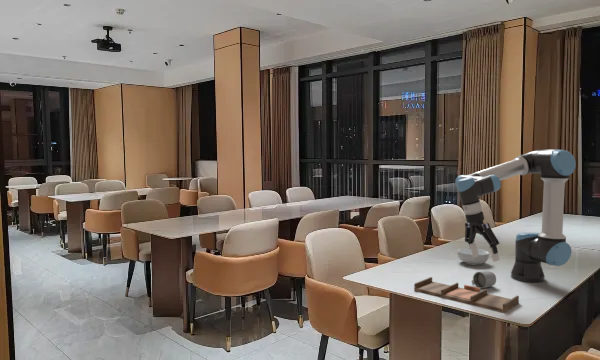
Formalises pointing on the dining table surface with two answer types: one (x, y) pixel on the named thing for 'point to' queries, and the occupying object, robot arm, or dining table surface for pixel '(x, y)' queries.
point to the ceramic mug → (484, 279)
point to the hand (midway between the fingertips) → (485, 258)
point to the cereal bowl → (467, 256)
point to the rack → (466, 295)
